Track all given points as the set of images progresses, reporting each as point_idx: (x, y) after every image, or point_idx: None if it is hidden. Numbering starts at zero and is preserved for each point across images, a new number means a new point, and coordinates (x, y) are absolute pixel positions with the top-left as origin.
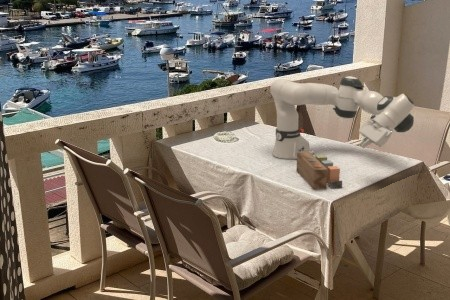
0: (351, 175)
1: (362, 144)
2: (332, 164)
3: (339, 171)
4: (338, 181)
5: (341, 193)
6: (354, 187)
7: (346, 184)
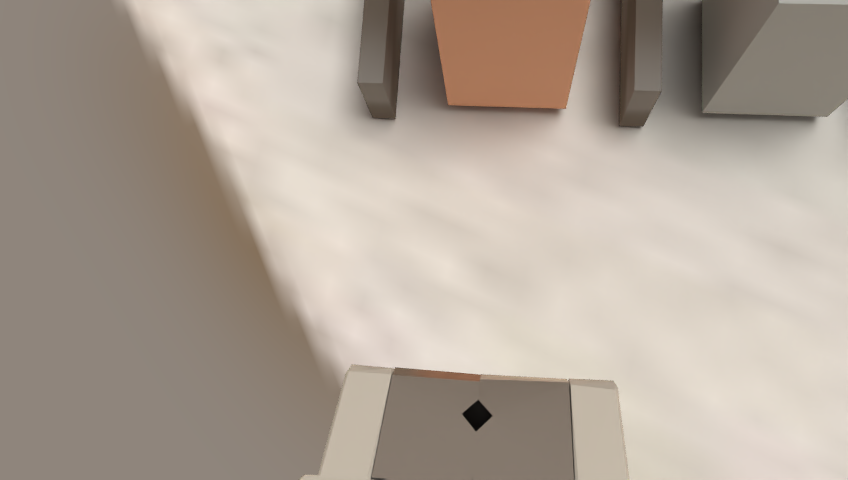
0: (841, 462)
1: (358, 408)
2: (770, 5)
3: (433, 14)
4: (362, 31)
5: (218, 52)
6: (362, 285)
7: (490, 231)
